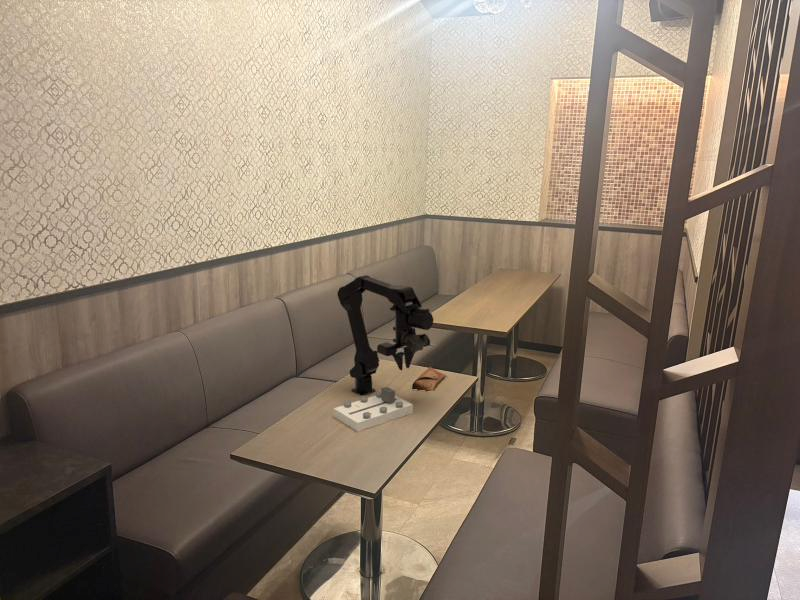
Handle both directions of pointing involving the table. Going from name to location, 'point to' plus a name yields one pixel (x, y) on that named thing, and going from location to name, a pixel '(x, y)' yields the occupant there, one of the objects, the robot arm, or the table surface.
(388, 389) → the fader
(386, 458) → the table surface
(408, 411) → the mixer console
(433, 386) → the sunglasses case
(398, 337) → the robot arm
